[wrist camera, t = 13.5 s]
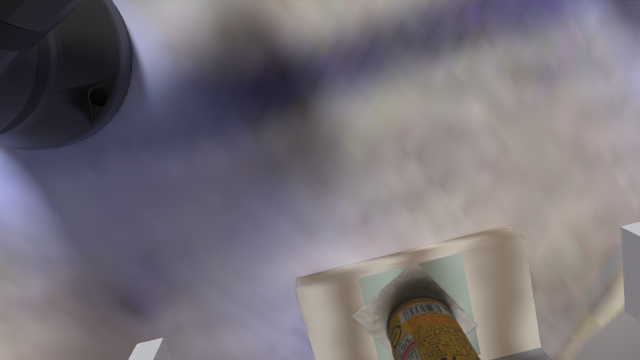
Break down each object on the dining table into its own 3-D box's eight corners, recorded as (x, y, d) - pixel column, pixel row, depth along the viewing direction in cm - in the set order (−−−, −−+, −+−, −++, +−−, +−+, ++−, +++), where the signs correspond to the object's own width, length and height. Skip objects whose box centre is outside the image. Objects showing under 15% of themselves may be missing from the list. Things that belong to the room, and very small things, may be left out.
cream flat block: (328, 388, 43) (332, 432, 38) (296, 278, 41) (295, 309, 35) (526, 340, 43) (558, 378, 38) (508, 225, 40) (539, 248, 35)
